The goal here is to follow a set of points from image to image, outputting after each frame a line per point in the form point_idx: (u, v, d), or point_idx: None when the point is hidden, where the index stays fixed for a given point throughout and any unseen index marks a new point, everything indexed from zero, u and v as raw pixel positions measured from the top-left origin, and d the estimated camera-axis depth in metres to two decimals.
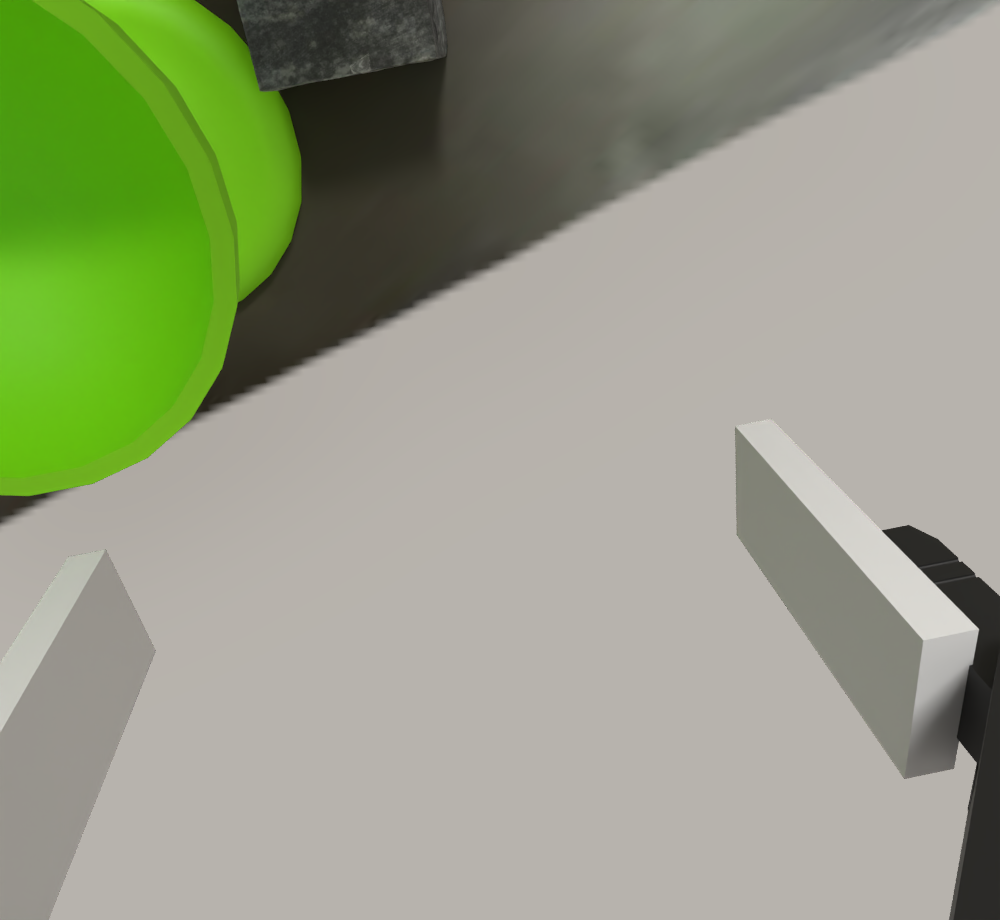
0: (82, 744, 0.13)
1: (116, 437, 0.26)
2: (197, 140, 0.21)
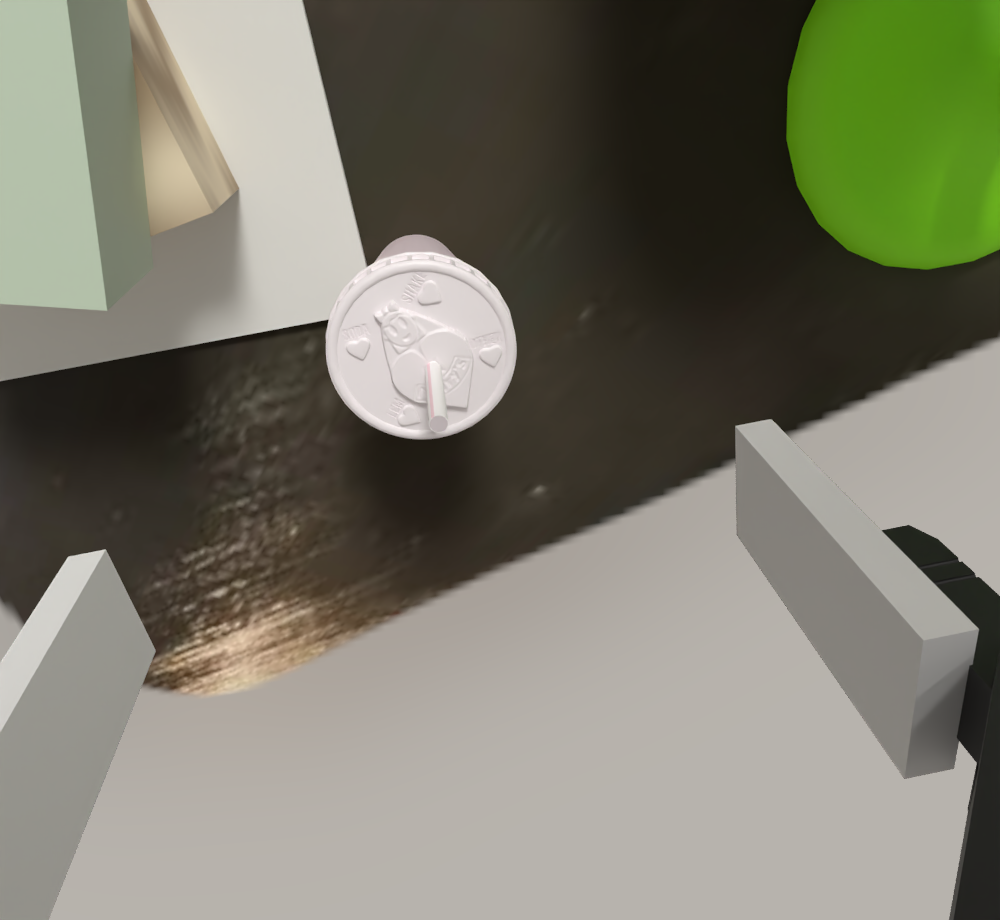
0: (82, 744, 0.13)
1: None
2: None
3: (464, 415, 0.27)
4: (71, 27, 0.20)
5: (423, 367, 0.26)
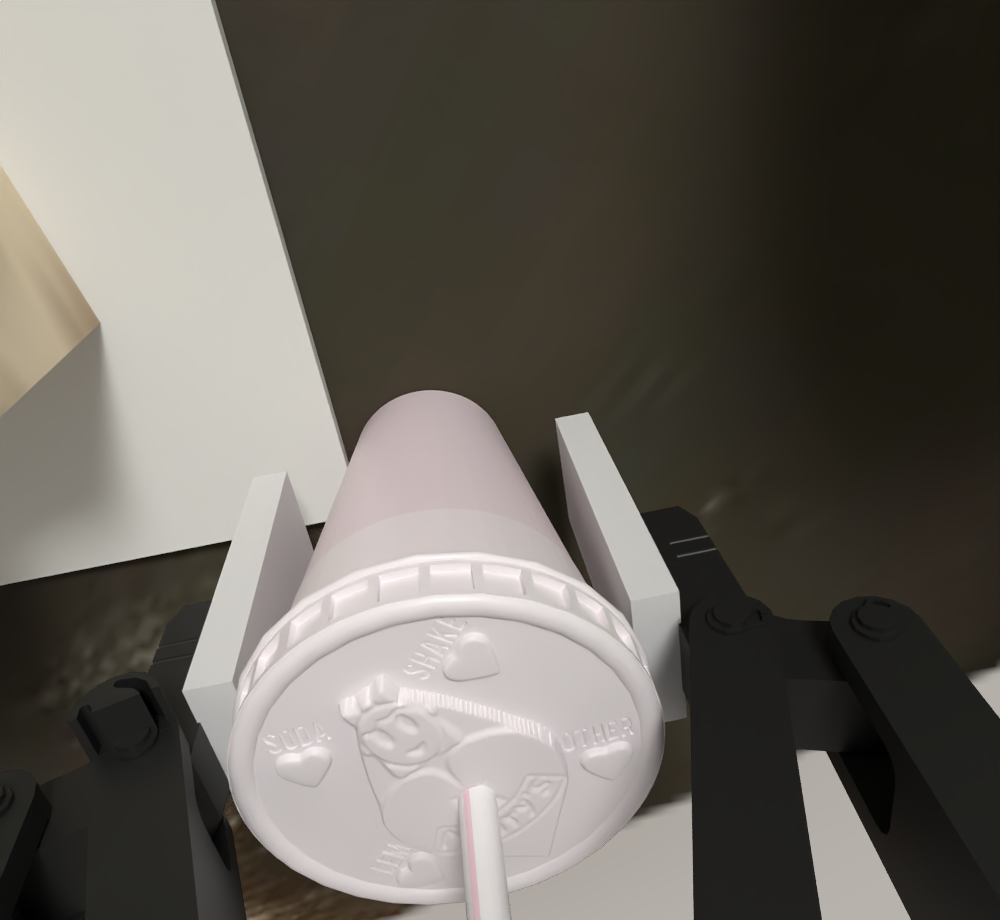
0: None
1: None
2: None
3: (541, 860, 0.12)
4: None
5: (455, 797, 0.11)
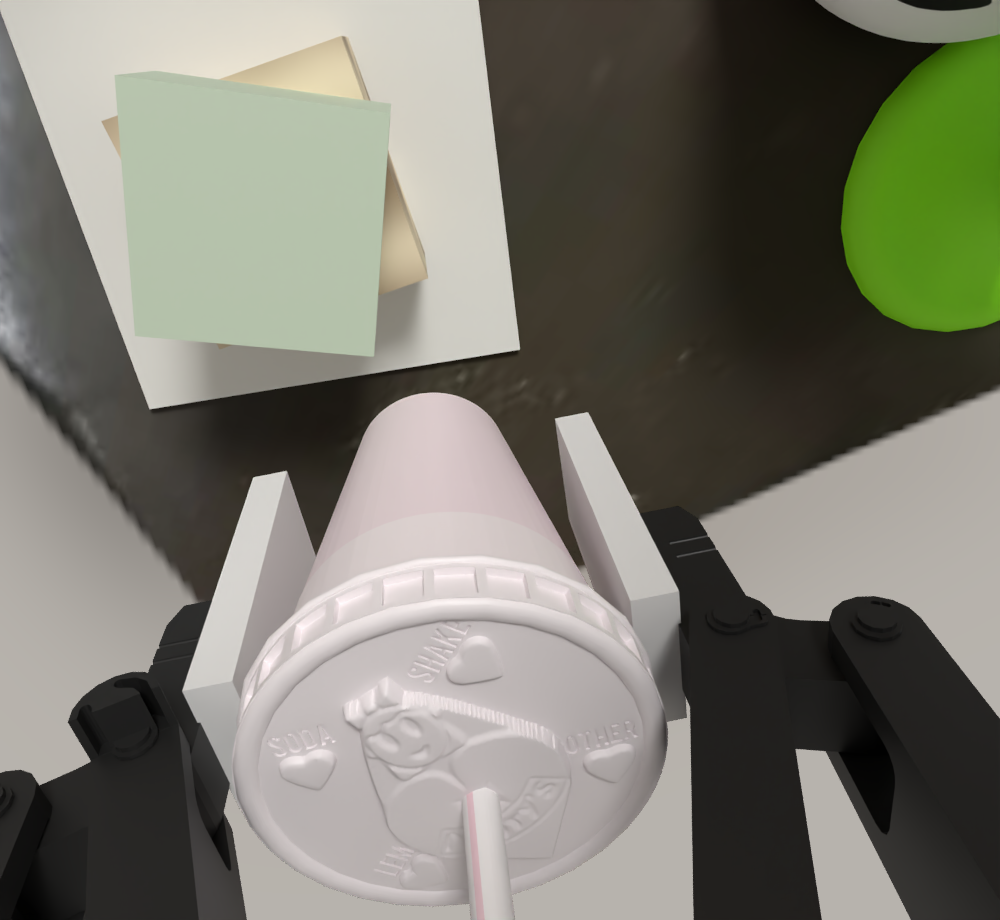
0: None
1: None
2: None
3: (544, 862, 0.13)
4: (386, 160, 0.28)
5: (458, 800, 0.11)
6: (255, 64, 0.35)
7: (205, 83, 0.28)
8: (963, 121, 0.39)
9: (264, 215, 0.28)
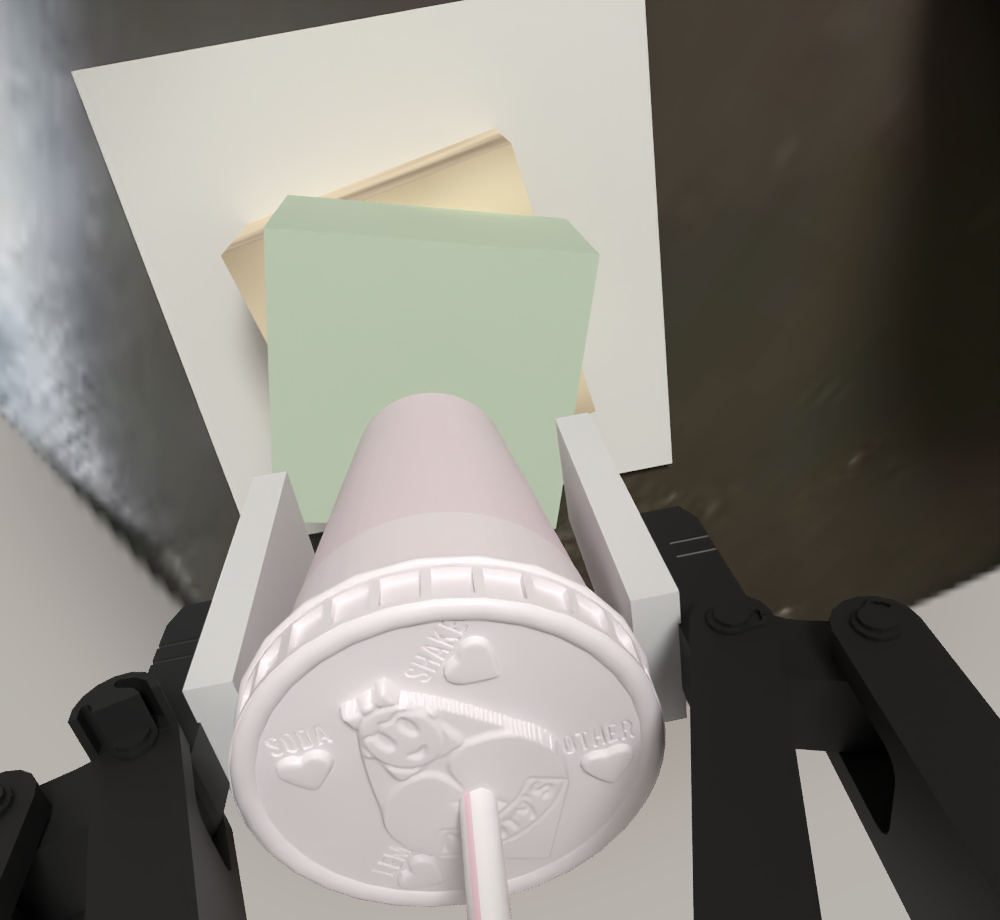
0: None
1: None
2: None
3: (541, 862, 0.13)
4: (590, 309, 0.22)
5: (455, 800, 0.11)
6: (385, 164, 0.29)
7: (363, 221, 0.22)
8: None
9: (437, 379, 0.23)
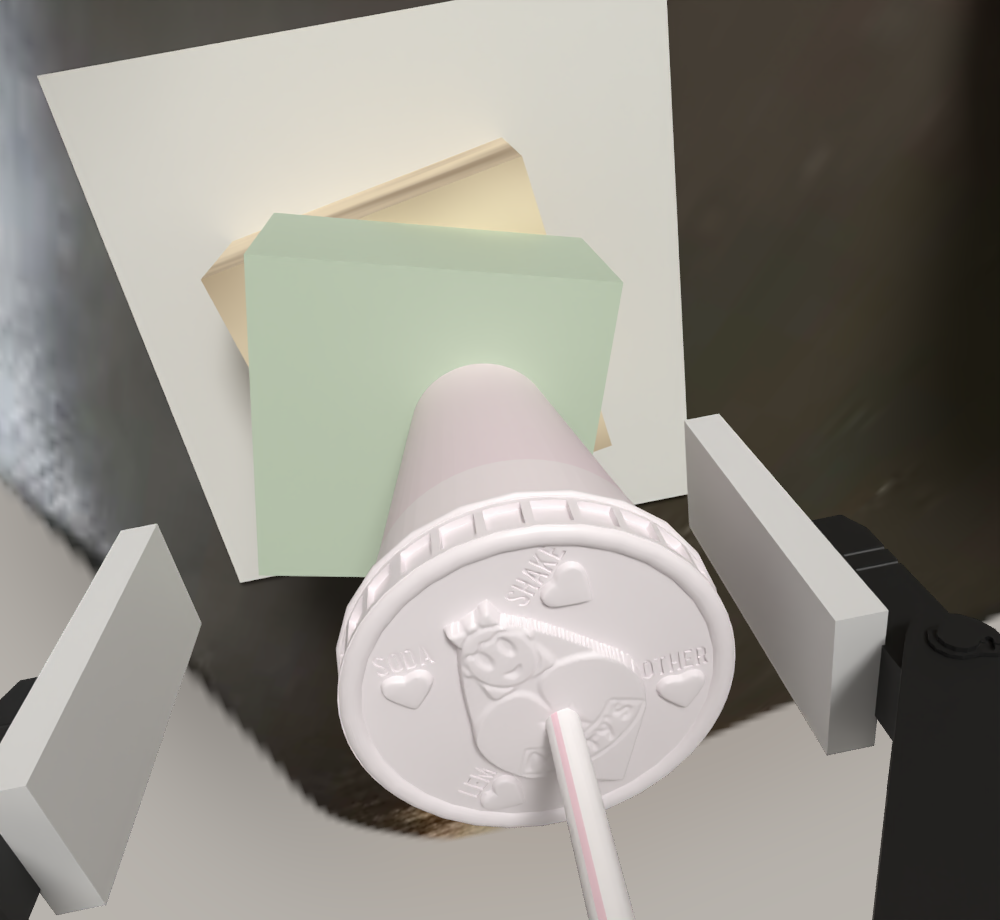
0: (141, 705, 0.14)
1: None
2: None
3: (613, 786, 0.13)
4: (611, 343, 0.20)
5: (543, 720, 0.12)
6: (382, 176, 0.27)
7: (357, 244, 0.20)
8: None
9: None
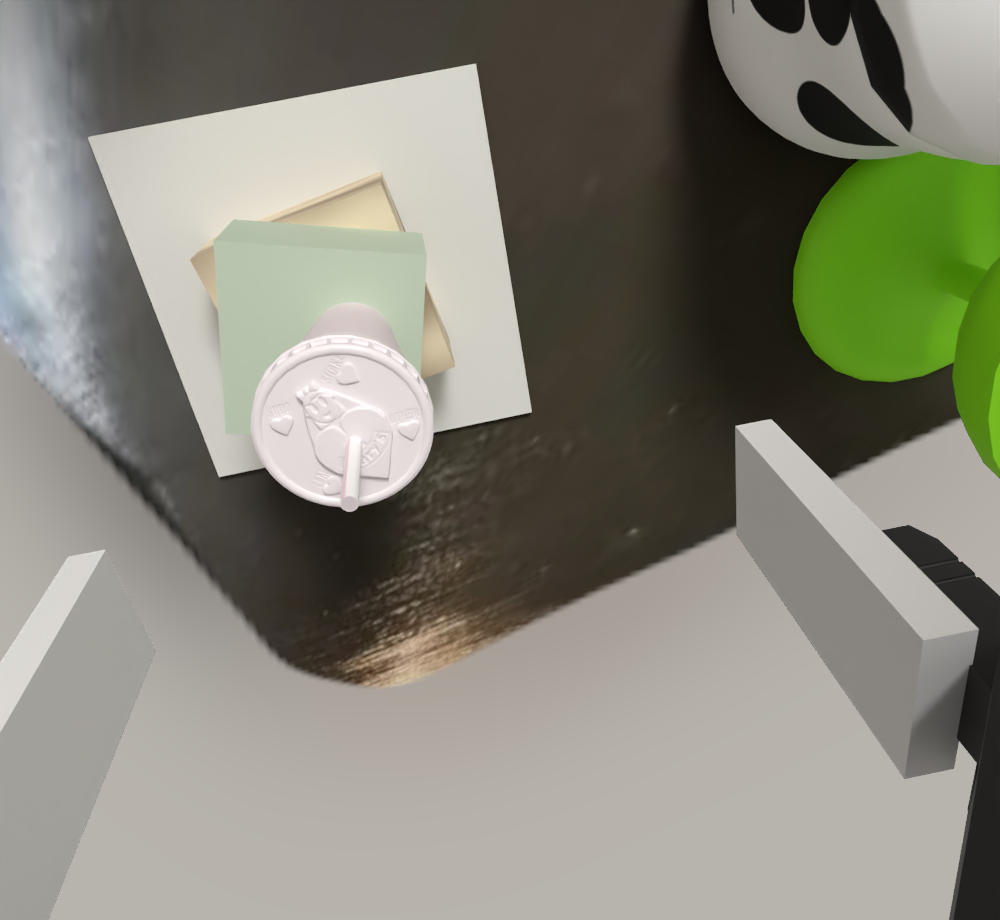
0: (82, 744, 0.13)
1: None
2: None
3: (386, 484, 0.29)
4: (424, 290, 0.35)
5: (344, 441, 0.27)
6: (305, 196, 0.42)
7: (279, 236, 0.35)
8: (889, 212, 0.46)
9: None
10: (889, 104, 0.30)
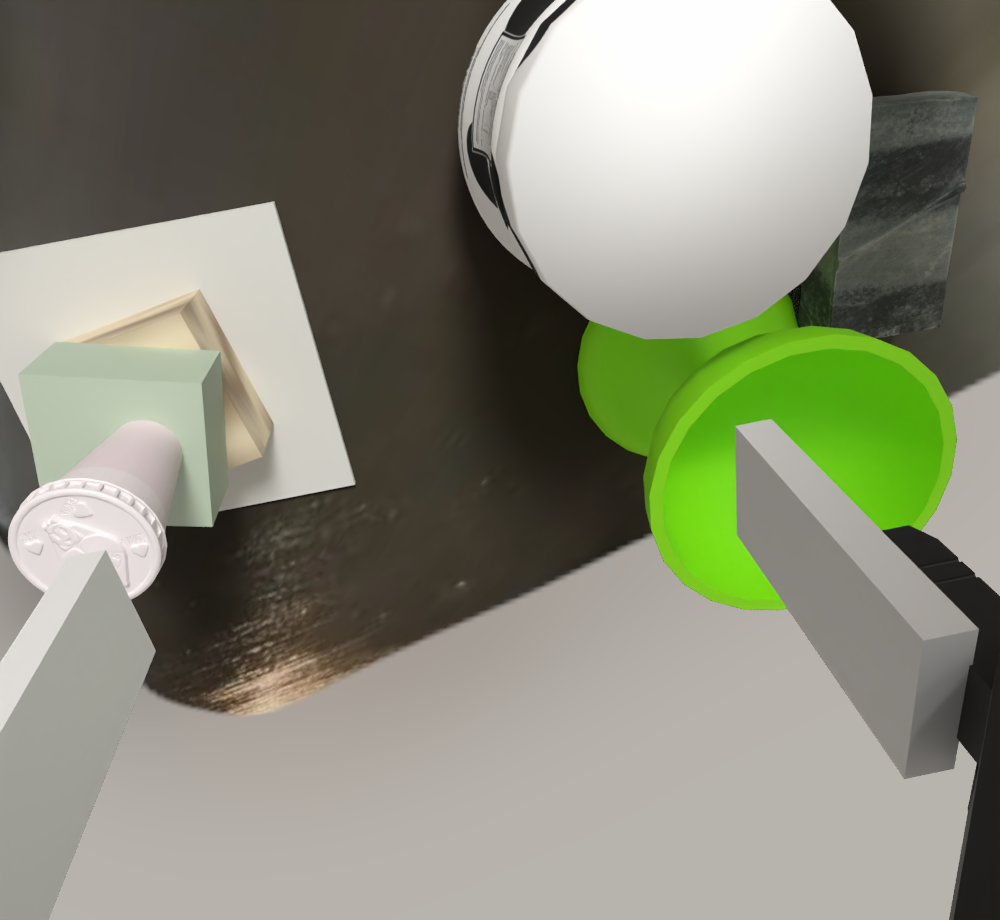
0: (82, 744, 0.13)
1: None
2: (954, 430, 0.39)
3: (128, 590, 0.36)
4: (203, 410, 0.42)
5: None
6: (135, 309, 0.49)
7: (82, 363, 0.42)
8: None
9: None
10: None
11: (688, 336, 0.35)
